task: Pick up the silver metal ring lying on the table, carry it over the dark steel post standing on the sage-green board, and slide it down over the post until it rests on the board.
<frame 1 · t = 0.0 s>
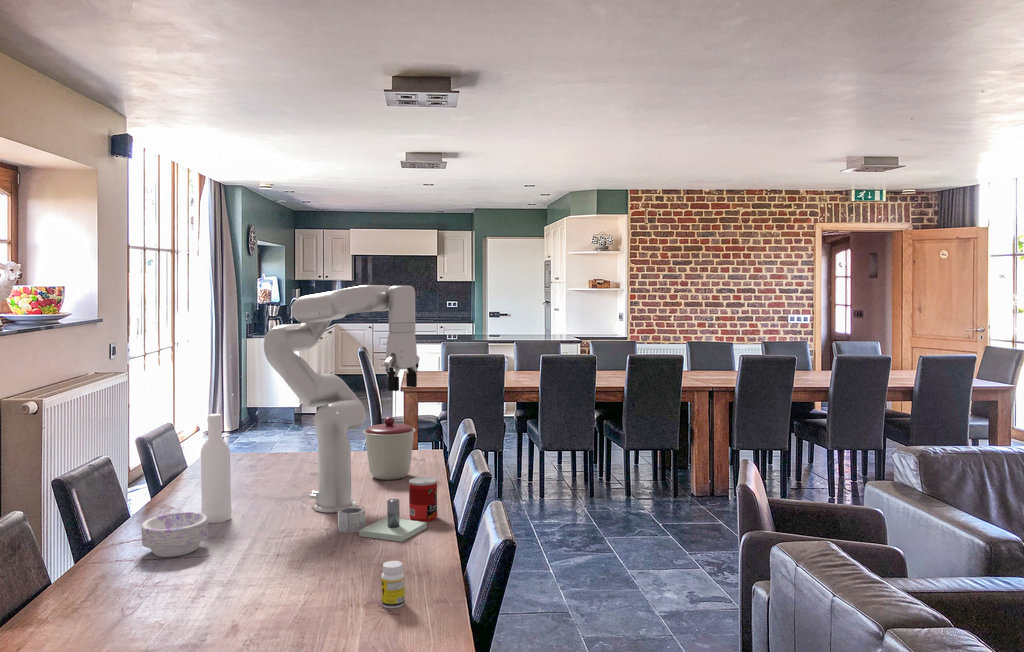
hand: (402, 388, 220), 37 cm above the table, tool pointing down, fingers open, 9 cm apart
supplement bottle: (393, 605, 158), on the table
bottle: (216, 520, 219), on the table
canister: (390, 477, 270), on the table
steel post: (393, 513, 206), on the green board, point 5 cm above the table
metal ring: (351, 528, 209), on the table
canned food: (423, 519, 219), on the table
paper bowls: (175, 552, 192), on the table
green board: (393, 531, 206), on the table
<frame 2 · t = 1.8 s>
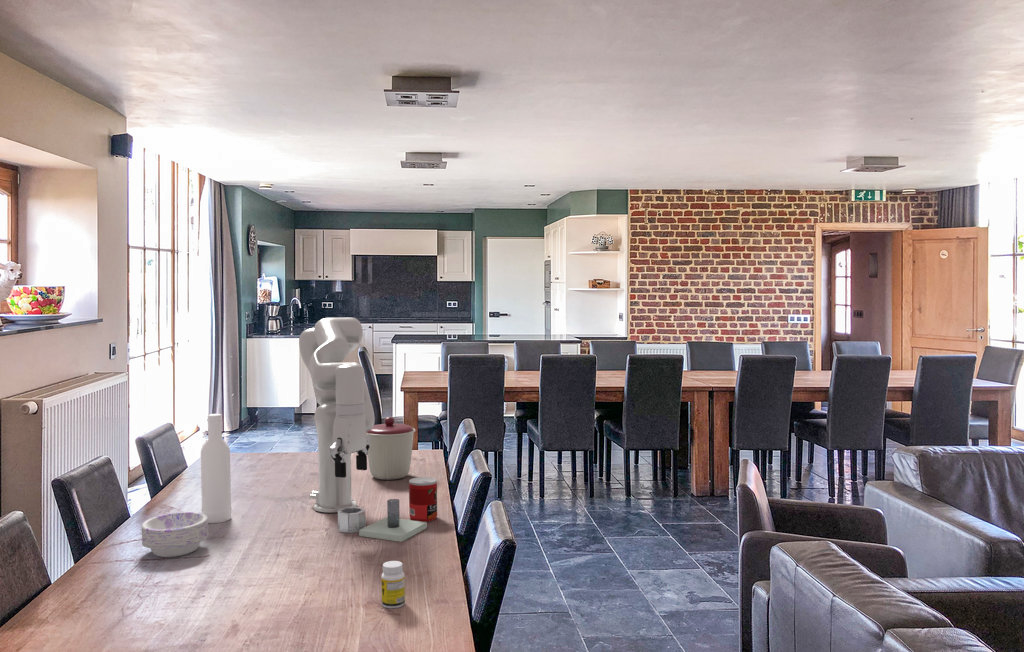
hand: (351, 473, 208), 15 cm above the table, tool pointing down, fingers open, 9 cm apart
nothing on the table moved.
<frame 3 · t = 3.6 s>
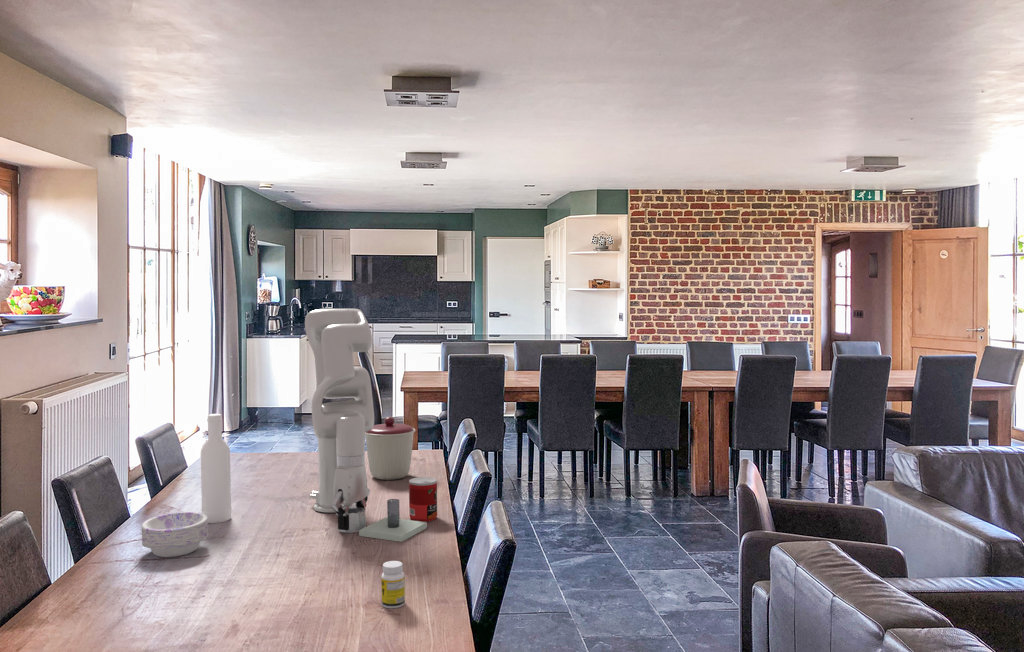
hand: (351, 525, 209), 1 cm above the table, tool pointing down, fingers closed on metal ring, 7 cm apart
metal ring: (351, 528, 209), on the table, touching gripper
everything else where it was.
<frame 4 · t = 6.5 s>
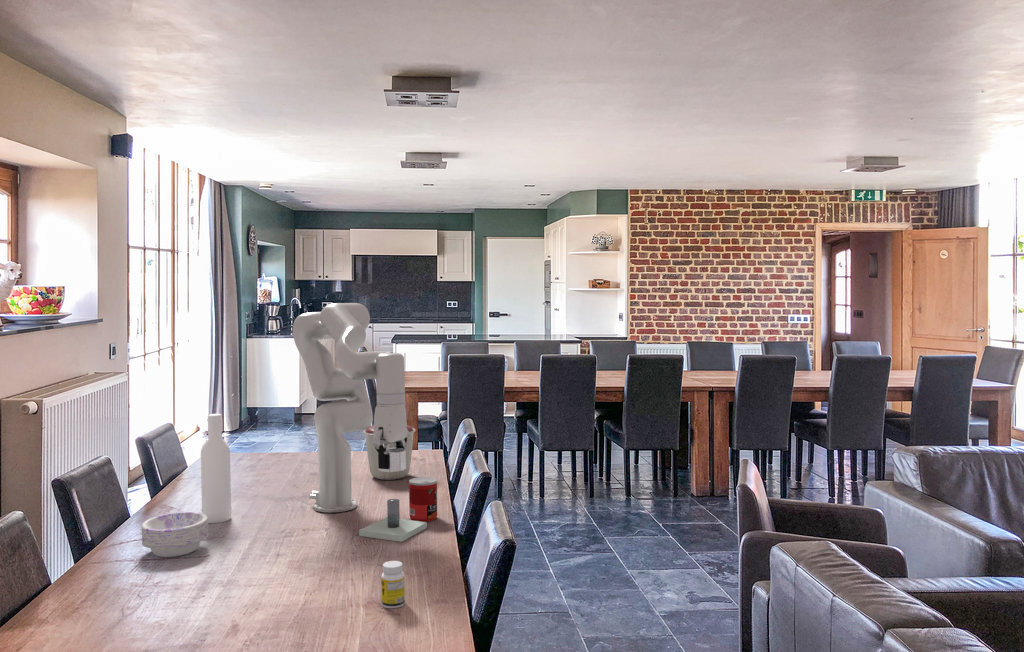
hand: (392, 465, 206), 18 cm above the table, tool pointing down, fingers closed on metal ring, 7 cm apart
metal ring: (392, 468, 206), point 17 cm above the table, touching gripper
everything else where it was.
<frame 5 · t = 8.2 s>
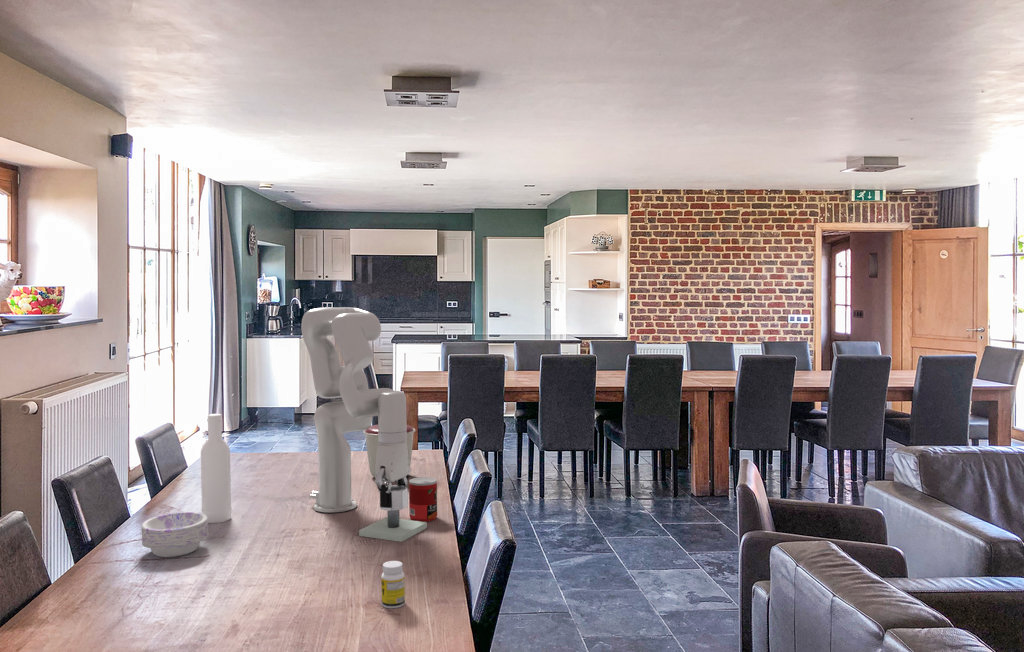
hand: (393, 503, 206), 8 cm above the table, tool pointing down, fingers closed on metal ring, 7 cm apart
metal ring: (393, 506, 206), point 7 cm above the table, touching gripper
everything else where it was.
when the fingers open (4 cm above the table, at t = 9.5 s): metal ring drops 1 cm, resting on green board.
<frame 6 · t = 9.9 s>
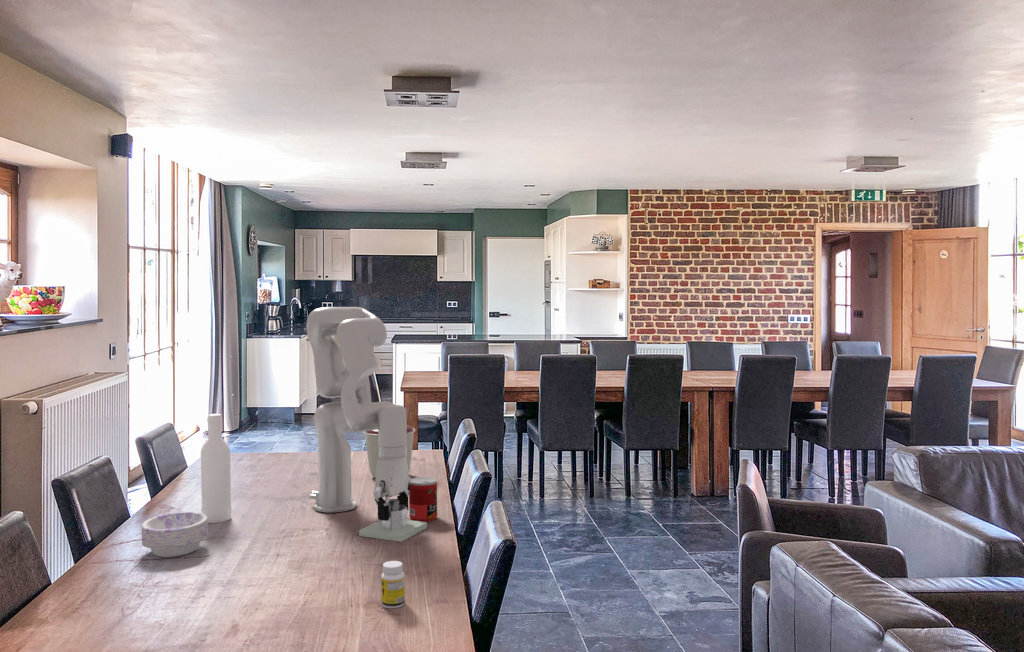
hand: (393, 515, 206), 4 cm above the table, tool pointing down, fingers open, 9 cm apart
metal ring: (393, 526, 206), point 1 cm above the table, touching green board
everything else where it was.
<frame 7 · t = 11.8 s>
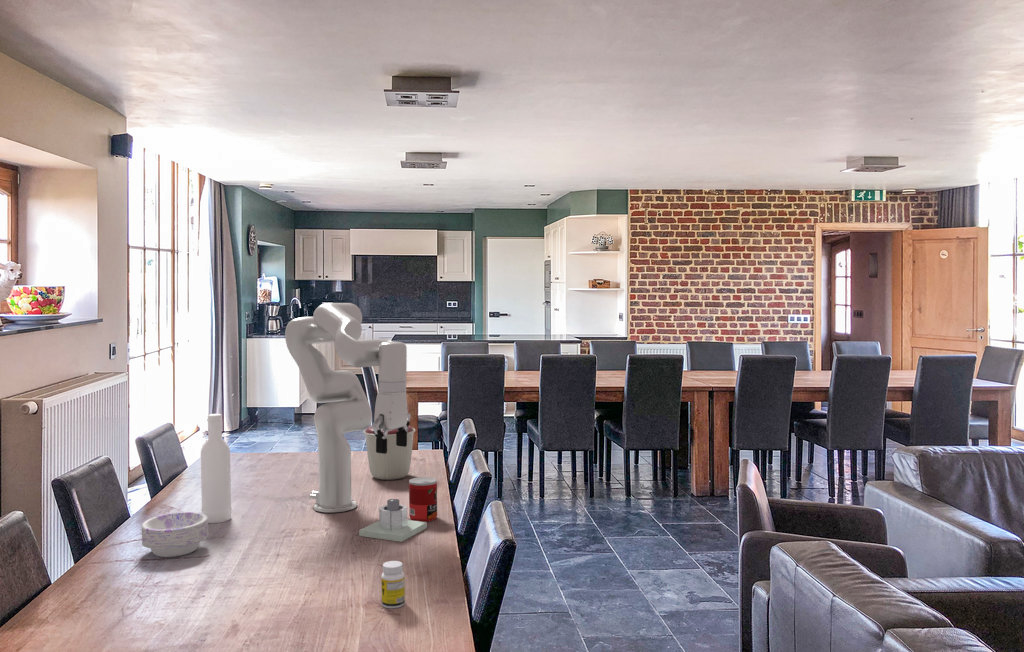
hand: (391, 449, 210), 21 cm above the table, tool pointing down, fingers open, 9 cm apart
nothing on the table moved.
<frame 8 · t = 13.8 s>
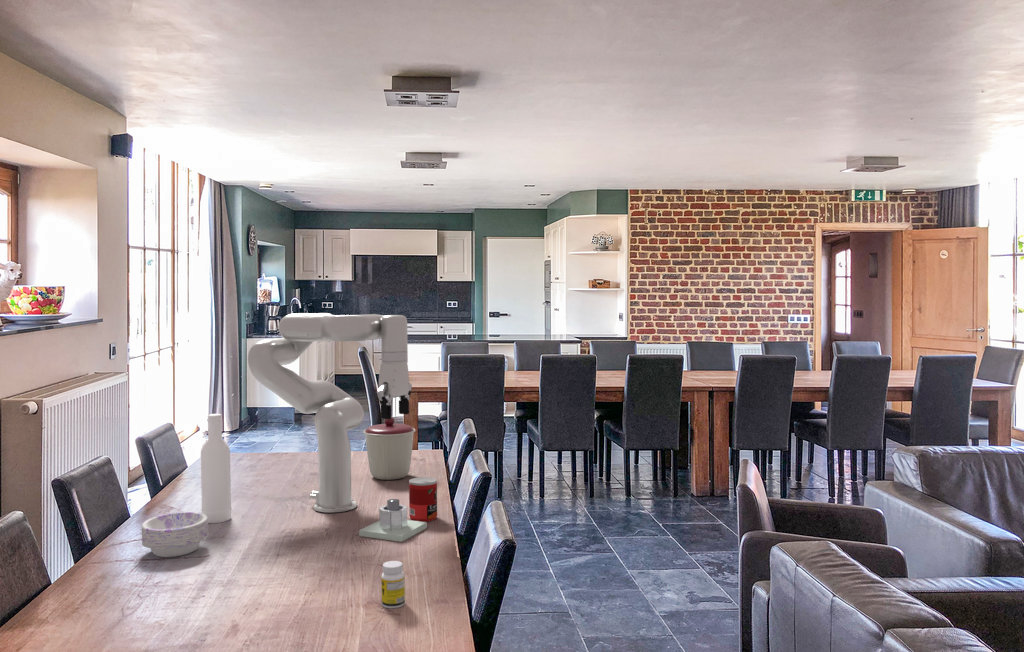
hand: (395, 416, 224), 28 cm above the table, tool pointing down, fingers open, 9 cm apart
nothing on the table moved.
at the end: metal ring 0.1 cm off-centre on the steel post, point 1.5 cm above the steel post's base; metal ring tilted 0°; the gripper is holding nothing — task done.
